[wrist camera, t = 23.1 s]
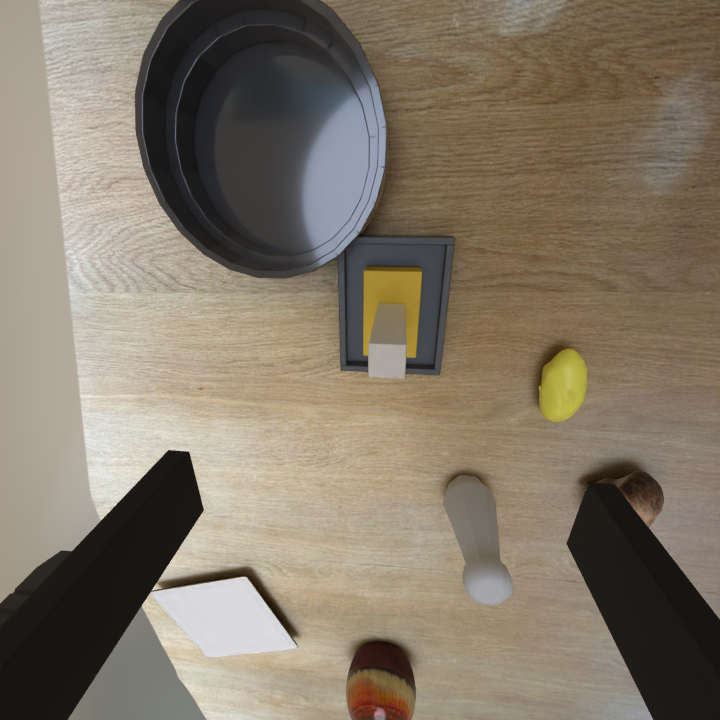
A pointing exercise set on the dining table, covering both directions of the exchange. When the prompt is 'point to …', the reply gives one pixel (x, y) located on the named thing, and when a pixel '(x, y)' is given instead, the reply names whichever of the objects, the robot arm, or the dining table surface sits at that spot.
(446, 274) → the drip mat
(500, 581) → the salt shaker
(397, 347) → the sponge brush
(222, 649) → the plate
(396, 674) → the vase
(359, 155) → the bowl
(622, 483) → the mushroom
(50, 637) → the robot arm
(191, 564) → the dining table surface
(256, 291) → the dining table surface
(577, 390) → the yellow potato
